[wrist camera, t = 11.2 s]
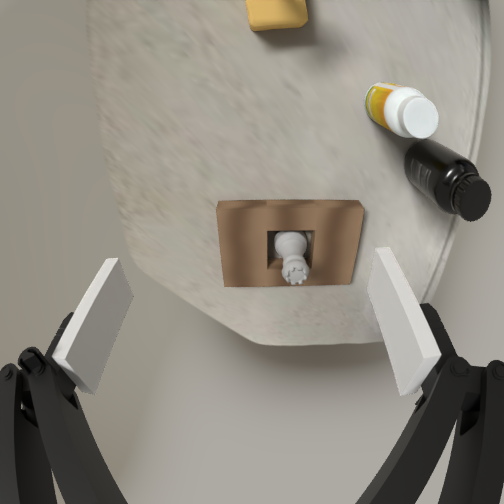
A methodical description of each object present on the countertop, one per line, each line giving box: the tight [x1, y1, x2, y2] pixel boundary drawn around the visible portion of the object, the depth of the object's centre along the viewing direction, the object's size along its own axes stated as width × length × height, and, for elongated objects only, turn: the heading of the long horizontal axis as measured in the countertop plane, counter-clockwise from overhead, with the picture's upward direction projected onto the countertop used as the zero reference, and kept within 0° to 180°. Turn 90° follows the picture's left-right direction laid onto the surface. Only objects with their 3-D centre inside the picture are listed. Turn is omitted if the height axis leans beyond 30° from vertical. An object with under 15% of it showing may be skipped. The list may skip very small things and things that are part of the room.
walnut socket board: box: [216, 200, 364, 287], centre depth 39 cm, size 18×12×2 cm, turn 92°
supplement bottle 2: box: [404, 139, 491, 222], centre depth 28 cm, size 7×7×12 cm
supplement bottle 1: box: [364, 82, 439, 139], centre depth 25 cm, size 5×5×10 cm
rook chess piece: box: [274, 230, 309, 286], centre depth 37 cm, size 4×4×8 cm
